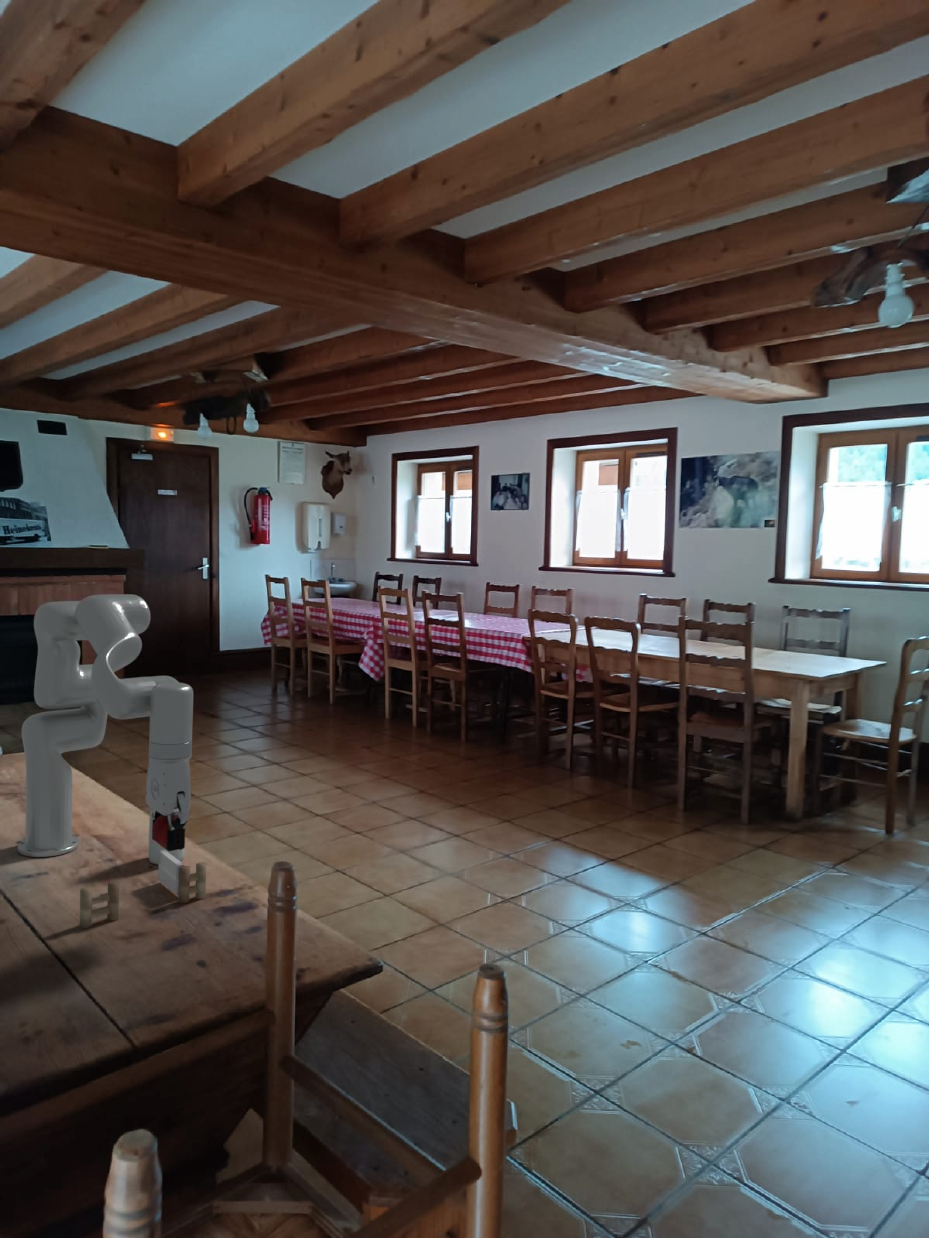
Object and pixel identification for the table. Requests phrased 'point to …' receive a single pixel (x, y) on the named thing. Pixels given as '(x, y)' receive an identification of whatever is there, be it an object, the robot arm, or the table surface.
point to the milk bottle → (155, 847)
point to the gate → (169, 870)
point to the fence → (113, 895)
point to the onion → (161, 830)
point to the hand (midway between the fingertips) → (168, 843)
